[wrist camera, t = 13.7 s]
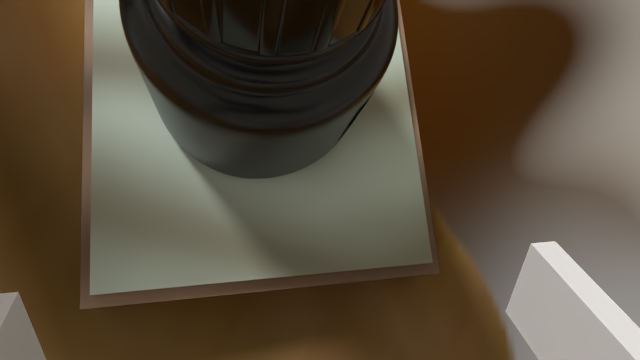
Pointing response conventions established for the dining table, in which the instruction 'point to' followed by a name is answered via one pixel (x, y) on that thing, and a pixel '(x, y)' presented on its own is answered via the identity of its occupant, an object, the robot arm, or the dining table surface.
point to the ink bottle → (260, 75)
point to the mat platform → (240, 195)
